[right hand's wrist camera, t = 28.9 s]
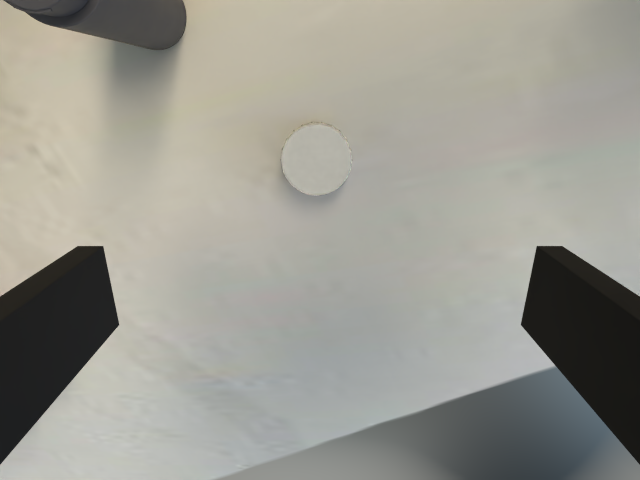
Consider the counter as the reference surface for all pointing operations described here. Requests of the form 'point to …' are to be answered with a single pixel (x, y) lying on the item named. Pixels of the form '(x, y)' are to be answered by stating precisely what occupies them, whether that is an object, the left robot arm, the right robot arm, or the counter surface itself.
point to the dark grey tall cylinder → (113, 19)
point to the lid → (316, 159)
